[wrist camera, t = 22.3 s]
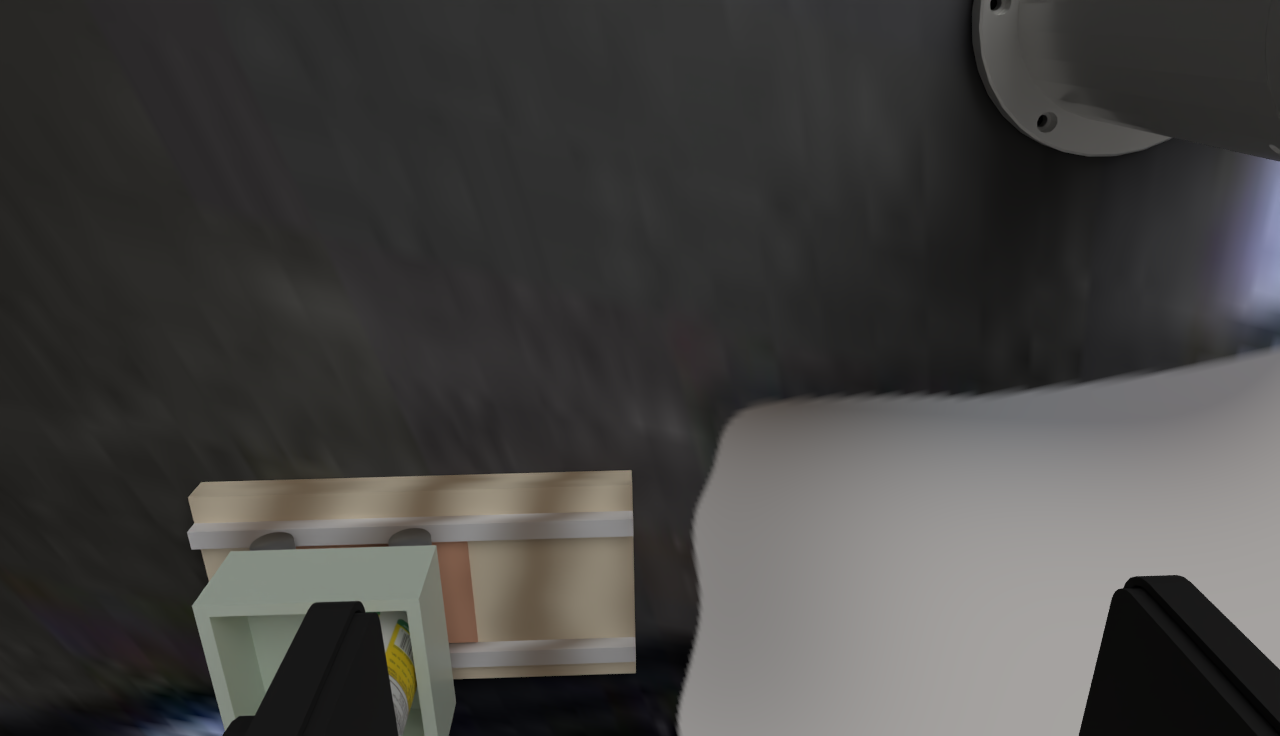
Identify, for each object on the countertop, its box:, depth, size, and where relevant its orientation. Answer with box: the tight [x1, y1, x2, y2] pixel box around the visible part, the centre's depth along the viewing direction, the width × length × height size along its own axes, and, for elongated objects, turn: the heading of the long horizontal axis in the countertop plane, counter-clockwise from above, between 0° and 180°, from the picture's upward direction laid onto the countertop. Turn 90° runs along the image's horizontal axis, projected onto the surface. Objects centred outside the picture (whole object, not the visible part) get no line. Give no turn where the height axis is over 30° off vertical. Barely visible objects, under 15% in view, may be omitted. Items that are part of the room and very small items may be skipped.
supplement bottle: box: [366, 611, 417, 736], centre depth 37 cm, size 5×5×10 cm
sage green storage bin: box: [192, 528, 456, 736], centre depth 41 cm, size 10×10×6 cm
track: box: [187, 470, 636, 679], centre depth 45 cm, size 22×12×2 cm, turn 91°
